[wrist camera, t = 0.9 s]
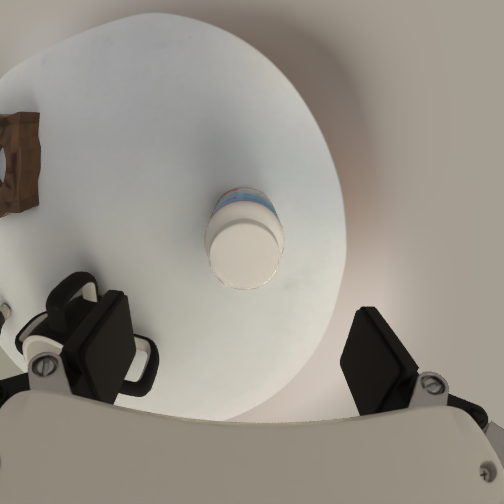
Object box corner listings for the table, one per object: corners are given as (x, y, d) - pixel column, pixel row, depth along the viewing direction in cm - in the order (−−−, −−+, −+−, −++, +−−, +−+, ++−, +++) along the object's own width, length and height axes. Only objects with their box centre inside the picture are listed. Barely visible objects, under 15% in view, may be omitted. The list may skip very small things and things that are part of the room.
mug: (104, 372, 36) (77, 427, 25) (40, 295, 31) (-5, 340, 20) (179, 346, 34) (160, 417, 23) (105, 245, 29) (48, 296, 17)
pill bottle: (225, 178, 27) (212, 198, 16) (282, 198, 27) (306, 230, 17) (207, 233, 29) (186, 284, 18) (262, 251, 29) (271, 309, 19)
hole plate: (-11, 125, 21) (-29, 126, 17) (43, 106, 22) (23, 105, 18) (-10, 210, 26) (-27, 218, 22) (42, 209, 27) (23, 218, 23)
